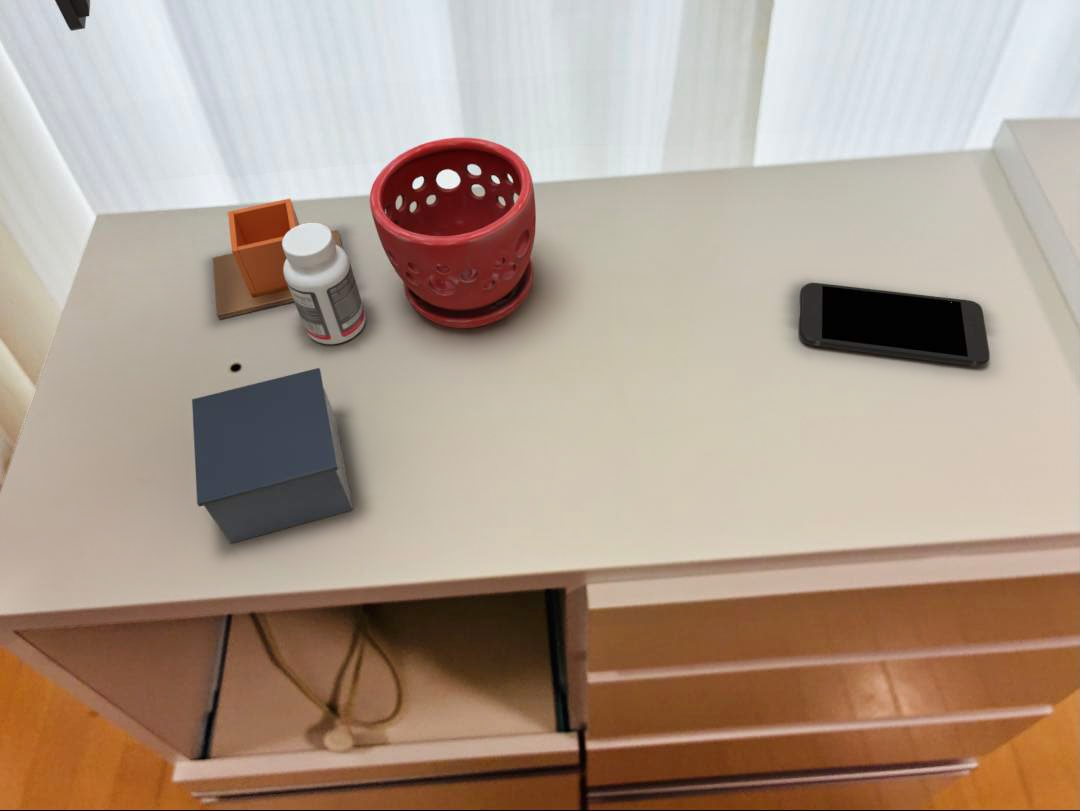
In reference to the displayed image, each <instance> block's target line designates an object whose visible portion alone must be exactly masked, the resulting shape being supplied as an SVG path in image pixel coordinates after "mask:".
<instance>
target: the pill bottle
mask: <svg viewBox="0 0 1080 811" xmlns="http://www.w3.org/2000/svg"><path fill="white" fill-rule="evenodd" d="M331 231H332V230H330V228H329V227H328V226H326V225H325V224H323V223H319V222H307V223H301V224H299V225H298V226H296V227H294V228H292V229H291V230H290V231H288V232H287V233H286V234H285V236H284V238H283V241H282V247H283V250H284V253H285V255H286V258H287V259H286V261H285V263H284V267H283V272H284V277H285V281H286V282H287V285H288V287H289V290H290V292H291V295H292V297H293V300H294V302H293V303H294V304H295V308H296V309H297V312H298V315H299V317H300V318H299V319H300V320H301V322H302V325H303V327H304V329H305V332H306V334H307V335H308V337H309V338H310V339H312V340H313V341H315V342H316V343H320V344H324V345H336V344H341V343H345V342H347V341H349V340H351V339H353V338H354V337H355V336H357V335H358V334H359V333H360V332H361V330H363V328H364V326H365V323H366V320H367V319H366V316H367V315H366V312H365V307H364V304H363V301H362V298H361V295H360V291H359V287H358V284H357V280H356V278H355V275H354V272H353V268H352V264H351V260H350V258H349V256H348V254H347V252H346V251H345V250H344V249H343V247H342V248H341V247H339V246H338V245H336V244H335V241H334V239H333V236H332V233H331Z"/></svg>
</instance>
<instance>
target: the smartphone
mask: <svg viewBox="0 0 1080 811" xmlns="http://www.w3.org/2000/svg"><path fill="white" fill-rule="evenodd" d="M951 302H952V303H951ZM798 312H799V313H798V337H799V339H800V340H801V341H802V342H803V343H805V344H807V345H810V346H813V347H814V346H815V347H820V348H828V349H836V350H843V351H851V352H852V351H853V352H861V353H870V354H877V355H885V356H890V357H891V356H892V357H898V358H899V357H900V358H907V359H916V360H923V361H929V362H930V361H931V362H938V363H946V364H947V363H948V364H955V365H962V366H969V367H970V366H972V367H984V366H986V365H987V364H988V363H989V361H990V358H991V356H990V355H991V354H990V348H989V341H988V336H987V329H986V323H985V316H984V311H983V308H982V306H981V304H980V303H978V302H976V301H973V300H969V299H960V298H951V297H943V296H936V295H935V296H934V295H926V294H919V293H918V294H917V293H910V292H909V293H908V292H900V291H899V292H898V291H892V290H891V291H890V290H882V289H874V288H873V289H872V288H865V287H855V286H847V285H839V284H838V285H837V284H829V283H823V282H821V283H819V282H809V283H806V284H804V285H803V286H802V287H801V288H800V291H799V310H798Z"/></svg>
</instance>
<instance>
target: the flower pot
mask: <svg viewBox="0 0 1080 811" xmlns="http://www.w3.org/2000/svg"><path fill="white" fill-rule="evenodd" d="M470 165H474V166H477V167H478V168H479V169H480V174H478V175H477V174H474V173H472V172H470V170H469V169H468V167H469V166H470ZM446 170H447V171H452V172H455V174H457V175H458V177H459V184H458V185H456V186H455V187H452V188H445V187H442V186H440V185H439V184H438V182H437V178H438V175H439V174H440V173H441V172H443V171H446ZM493 176H494V177H496V178H497V179H498V181H499V183H496V182H495V181H494V180H493V178H492V177H493ZM509 176H510V177H511V180H512V181H511V180H510V178H509ZM420 177H421V178H423V182H422V184H421V186H419V187H417V188H414V186H413V185H414V181H415V180H416V179H419V178H420ZM475 185H476V186H477V185H478V186H480V187H481V188H483V190H484V195H481V196H479V195H476V194H475V193H474V191H473V186H475ZM515 194H516V195H517V196H518V197H517V200H516V201H515V197H514V196H515ZM430 196H434V197H435V200H434V202H432V203H430V204H428V203H427V202H428V198H429V197H430ZM399 197H401V204H400V206H399V207H398V208H397V200H398V198H399ZM500 197H501V198H502V199H503V200H504V203H505V204H502V203H501V202H500V199H499V198H500ZM413 203H415V204H416V205H415V209H414V210H413V211H411V205H412V204H413ZM369 207H370V213H371V216H372V220H373V223H374V227H375V230H376V234H377V235H378V238H379V241H380V244H381V247H382V249H383V250H384V253H385V255H386V257H387V259H388V261H389V262H390V265H391V266H392V268H393V270H394V271H395V273H396V274H397V276H398V277H399V278H400V279H401V281H402V282H403V289H404V293H405V295H406V299H407V300H408V301H409V303H410V305H411V306H412V307H413V309H414V310H415V311H416V312H417V313H419V314H420V315H421V316H422V317H424V318H426V319H427V320H429V321H431V322H433V323H435V324H438V325H441V326H445V327H450V328H457V329H459V328H461V329H467V328H469V329H470V328H477V327H482V326H487V325H489V324H492V323H495V322H497V321H499V320H501V319H503V318H505V317H507V316H508V315H510V314H511V313H513V312H514V311H515V310H516V309H517V308H518V307H520V305H521V304H522V303H523V302H524V301H525V299H526V298H527V296H528V294H529V292H530V291H531V287H532V284H533V280H534V266H533V261H532V259H531V256H532V253H533V248H534V244H535V239H536V238H535V237H536V226H537V225H536V224H537V223H536V222H537V214H536V212H537V211H536V197H535V190H534V184H533V178H532V175H531V171H530V169H529V167H528V164H526V162H525V160H523V159H522V157H521V156H519V155H518V153H516V152H514V151H513V150H511V149H510V148H508V147H506V146H504V145H502V144H500V143H497V142H495V141H491V140H487V139H482V138H475V137H448V138H441V139H436V140H432V141H428V142H425V143H422V144H418V145H417V146H414V147H412V148H410V149H408V150H406V151H405V152H402V153H401V154H399V155H398V156H396V157H395V158H393V159H392V160H391V161H390V162H389V163H387V165H386V166H384V167H383V168H382V169H381V171H380V172H379V174H378V175H377V176H376V178H375V179H374V181H373V183H372V186H371V189H370V193H369Z"/></svg>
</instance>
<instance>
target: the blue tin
mask: <svg viewBox="0 0 1080 811" xmlns="http://www.w3.org/2000/svg"><path fill="white" fill-rule="evenodd" d="M191 404H192V405H191V407H192V426H193V444H194V448H193V449H194V466H195V467H194V468H195V487H196V504H197V506H198V507H204V508H205V509H206V511H207V512H208V514H209V515H210V516H211V518H212V519H213V521H214V522H215V524H216V525H217V526H218V528H219V529H220V531H221V532H222V534H223V535H224V537H225V538H226V539H227V540H228V542H229V543H230V544H234V543H237V542H241V541H245V540H248V539H251V538H256V537H259V536H263V535H266V534H269V533H274V532H277V531H281V530H285V529H289V528H292V527H295V526H300V525H304V524H306V523H307V524H308V523H310V522H314V521H318V520H321V519H325V518H328V517H331V516H336V515H339V514H342V513H343V514H344V513H347V512H350V511H353V510H354V508H353V503H352V497H351V492H350V487H349V481H348V476H347V475H348V474H347V470H346V466H345V459H344V454H343V449H342V448H343V447H342V443H341V439H340V438H341V437H340V432H339V428H338V427H339V426H338V422H337V417H336V414H335V412H334V410H333V407H332V405H331V403H330V400H329V398H328V395H327V392H326V390H325V387H324V383H323V377H322V372H321V369H320V367H316V368H312V369H309V370H305V371H301V372H297V373H296V372H295V373H292V374H288V375H284V376H280V377H276V378H272V379H267V380H264V381H260V382H256V383H253V384H249V385H245V386H240V387H236V388H232V389H228V390H224V391H220V392H215V393H211V394H207V395H204V396H200V397H196V398H191Z"/></svg>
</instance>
